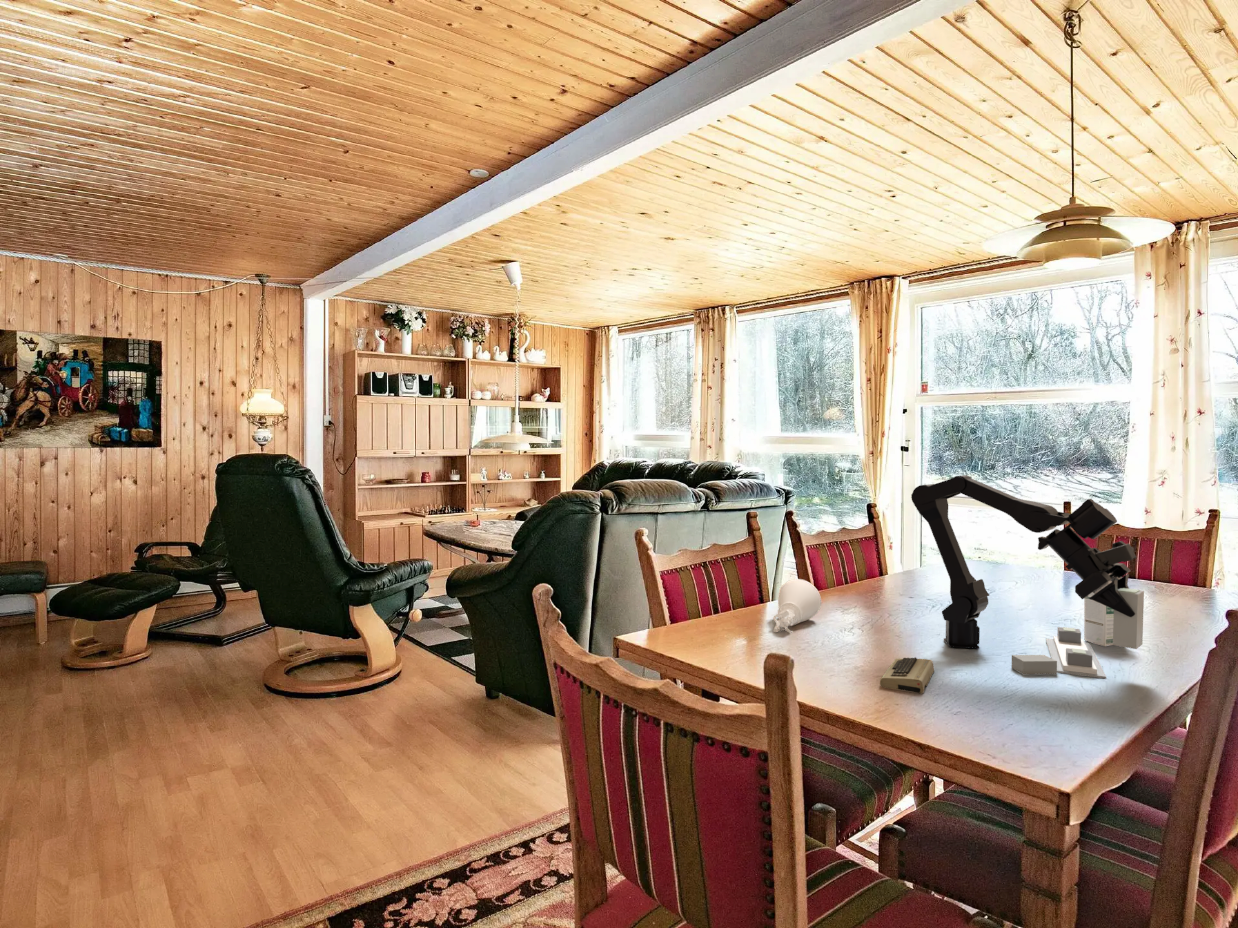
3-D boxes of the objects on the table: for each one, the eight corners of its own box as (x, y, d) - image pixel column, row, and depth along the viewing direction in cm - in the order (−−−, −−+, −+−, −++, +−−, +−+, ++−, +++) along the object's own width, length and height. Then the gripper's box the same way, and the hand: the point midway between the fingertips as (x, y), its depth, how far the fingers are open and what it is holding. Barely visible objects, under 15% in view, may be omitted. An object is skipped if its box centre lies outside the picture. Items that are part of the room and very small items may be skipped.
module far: (1058, 641, 173) (1059, 629, 173) (1057, 637, 177) (1057, 626, 176) (1080, 643, 171) (1081, 632, 171) (1079, 639, 175) (1079, 628, 175)
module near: (1067, 664, 155) (1067, 651, 155) (1065, 659, 159) (1065, 647, 159) (1092, 667, 153) (1092, 654, 153) (1089, 662, 157) (1090, 649, 157)
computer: (893, 667, 159) (894, 652, 159) (934, 673, 155) (934, 658, 155) (879, 689, 145) (879, 672, 145) (923, 696, 141) (923, 679, 141)
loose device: (1023, 675, 153) (1023, 661, 153) (1011, 668, 158) (1011, 654, 158) (1056, 675, 153) (1057, 661, 153) (1043, 668, 158) (1044, 654, 158)
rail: (1055, 672, 154) (1055, 665, 154) (1045, 640, 179) (1046, 634, 179) (1106, 678, 150) (1106, 671, 150) (1089, 644, 175) (1089, 638, 175)
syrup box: (1104, 646, 174) (1105, 585, 173) (1082, 640, 179) (1084, 580, 179) (1123, 645, 175) (1125, 584, 175) (1101, 638, 181) (1102, 579, 180)
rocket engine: (781, 597, 183) (800, 570, 198) (749, 621, 189) (770, 593, 204) (813, 633, 181) (830, 604, 196) (780, 656, 187) (799, 626, 202)
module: (1112, 644, 150) (1114, 590, 150) (1119, 640, 154) (1120, 587, 153) (1136, 649, 148) (1137, 593, 147) (1142, 644, 151) (1144, 589, 151)
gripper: (1094, 532, 146) (1161, 596, 139) (1120, 525, 159) (1181, 583, 151) (1049, 567, 152) (1111, 630, 145) (1077, 557, 165) (1135, 615, 158)
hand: (1136, 613), depth 149 cm, fingers closed on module, 5 cm apart
